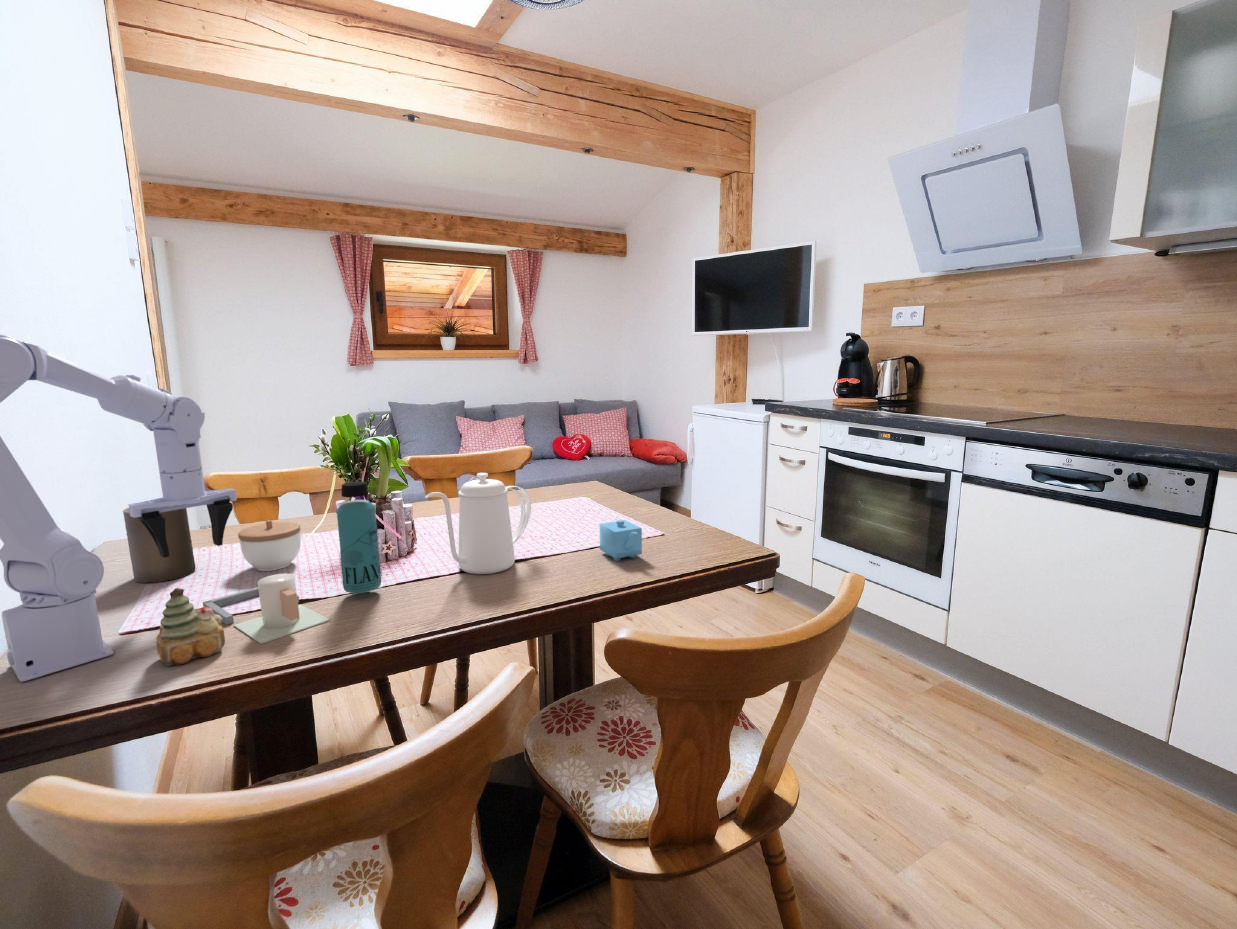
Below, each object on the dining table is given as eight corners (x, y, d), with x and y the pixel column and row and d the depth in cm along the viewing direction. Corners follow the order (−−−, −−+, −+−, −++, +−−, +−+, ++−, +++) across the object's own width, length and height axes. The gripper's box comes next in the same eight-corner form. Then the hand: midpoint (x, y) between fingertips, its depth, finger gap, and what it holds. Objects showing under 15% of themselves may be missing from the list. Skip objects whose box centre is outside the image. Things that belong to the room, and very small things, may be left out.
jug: (258, 623, 94) (252, 580, 93) (291, 612, 98) (286, 571, 96) (279, 637, 89) (273, 593, 88) (313, 625, 93) (308, 582, 91)
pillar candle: (206, 570, 119) (196, 495, 117) (152, 586, 111) (139, 506, 108) (177, 564, 123) (166, 492, 121) (122, 579, 115) (109, 502, 112)
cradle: (226, 624, 94) (225, 617, 94) (203, 609, 100) (202, 602, 100) (299, 602, 102) (298, 595, 102) (273, 589, 109) (273, 582, 108)
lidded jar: (248, 561, 124) (243, 517, 123) (306, 554, 128) (302, 511, 126) (237, 578, 114) (231, 530, 113) (300, 571, 118) (295, 524, 116)
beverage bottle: (340, 603, 102) (328, 487, 98) (346, 589, 108) (336, 480, 105) (381, 599, 103) (371, 485, 100) (385, 585, 110) (376, 477, 106)
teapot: (650, 563, 120) (650, 526, 119) (623, 568, 117) (622, 531, 116) (622, 547, 131) (621, 513, 129) (597, 551, 128) (596, 517, 127)
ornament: (219, 638, 90) (210, 574, 88) (233, 650, 86) (224, 583, 84) (153, 658, 84) (143, 590, 82) (165, 672, 80) (154, 601, 78)
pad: (261, 644, 87) (260, 642, 87) (234, 626, 93) (233, 624, 93) (329, 620, 95) (329, 619, 95) (300, 605, 101) (300, 604, 101)
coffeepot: (413, 580, 112) (406, 481, 109) (513, 546, 132) (509, 461, 129) (450, 592, 106) (443, 488, 103) (549, 555, 125) (546, 466, 122)
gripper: (133, 480, 91) (146, 566, 93) (239, 466, 102) (249, 543, 104) (120, 475, 95) (133, 557, 97) (223, 462, 106) (233, 536, 109)
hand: (192, 550), depth 101 cm, fingers open, 7 cm apart
